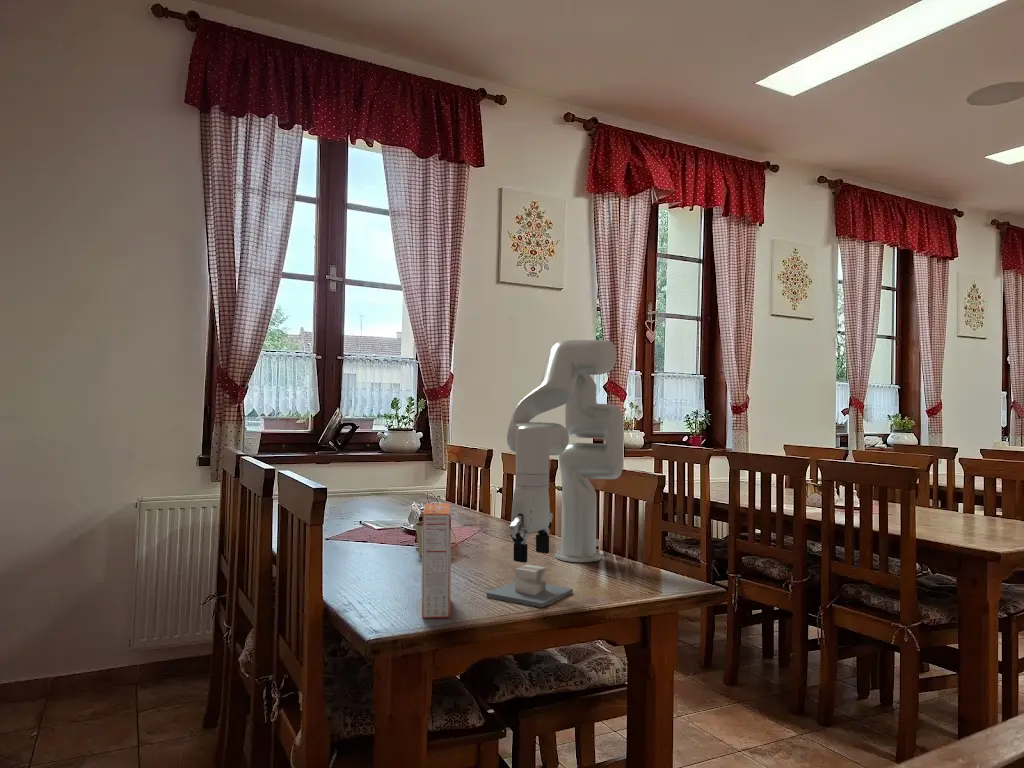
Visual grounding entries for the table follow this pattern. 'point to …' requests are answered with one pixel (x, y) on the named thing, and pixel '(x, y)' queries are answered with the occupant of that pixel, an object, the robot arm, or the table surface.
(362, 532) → the table surface
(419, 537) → the flower pot
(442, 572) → the cracker box
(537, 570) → the cream cube
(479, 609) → the table surface
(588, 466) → the robot arm
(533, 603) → the slate board
